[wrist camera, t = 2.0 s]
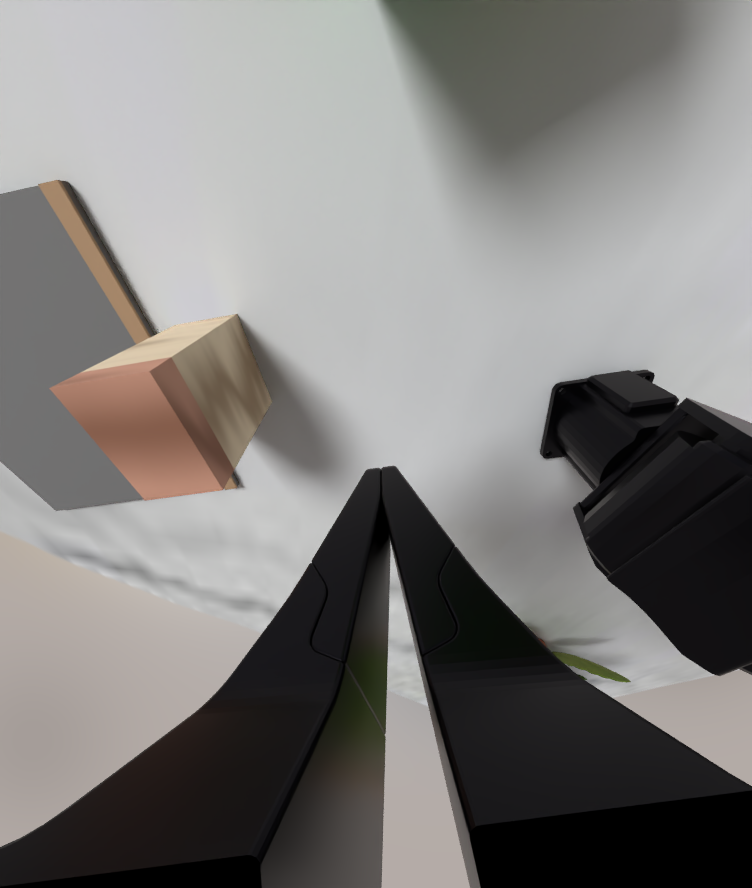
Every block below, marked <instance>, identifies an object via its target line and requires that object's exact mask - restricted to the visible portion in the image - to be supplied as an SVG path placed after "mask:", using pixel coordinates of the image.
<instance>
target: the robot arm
mask: <svg viewBox="0 0 752 888" xmlns="http://www.w3.org/2000/svg"><path fill="white" fill-rule="evenodd" d="M645 376H646V377H645ZM654 376H655V375H654V373H652V372H650V371H648V370H640V371H634V372H631V371H629V370H627V371H621V372H614V373H607V374H601V375H594V376H591V377H589V378H586V379H580V380H573V381H566V382H560V383H558V384H556V385H555V386H554V387H553V389H552V394H551V399H550V404H549V409H548V414H547V419H546V424H545V429H544V435H543V440H542V445H541V450H540V454H541V455H542V456H543V458H545V459H548V458H556V457H564V456H565V457H566V459H567V460H568V461H569V462H570V463H571V464H572V466H573V467H574V468H575V469H576V470H577V471H578V473H579V474H580V475H581V476H582V477H583V478H584V480H585V481H586V482H587V483H588V484H589V485H590V487H591V488H592V489H593V491H592V492H591V493H590V494H589V495H588V496H587V497H586V498H585V499H584V500H583V501H582V502H579V503H578V504H577V505H575V506H574V507H573V510H574V513H575V515H576V518H577V521H578V523H579V526H580V529H581V532H582V534H583V537H584V540H585V543H586V546H587V548H588V551H589V553H590V555H591V558H592V560H593V561H594V564H595V566H596V567H597V568H598V569H599V570H600V571H601V572H602V573H603V574H604V575H605V576H606V577H607V579H608V580H609V581H610V582H611V583H612V584H613V585H614V586H616V587H617V588H618V589H620V590H621V591H622V592H623V593H625V594H626V595H627V596H628V597H630V598H631V599H632V600H633V601H634V602H635V603H636V604H637V605H638V606H639V607H640V608H641V609H642V610H643V611H644V612H645V613H646V614H647V615H648V616H649V617H650V618H651V619H652V620H653V621H654V623H655V624H656V625H657V626H658V627H659V628H660V629H661V631H662V632H663V633H664V634H665V635H666V636H667V638H668V639H669V640H670V641H671V642H672V643H673V645H674V646H675V647H676V648H677V649H678V650H679V652H680V653H681V654H683V655H684V656H685V657H687V658H688V659H690V660H691V661H693V662H694V663H696V664H698V665H699V666H701V667H702V668H704V669H705V670H707V671H708V672H710V673H712V674H714V675H718V676H721V675H724V674H726V673H729V672H732V671H734V670H737V669H740V670H742V671H744V672H747V673H749V674H751V675H752V423H750V422H747V421H745V420H742V419H740V418H737V417H735V416H732V415H730V414H727V413H725V412H722V411H719V410H717V409H714V408H712V407H709V406H707V405H704V404H702V403H699V402H696V401H694V400H691V399H689V398H686V399H685V400H684V401H683V402H682V403H680V404H679V405H677V403H678V401H679V399H678V398H677V397H676V396H675V395H673V394H671V393H670V392H668V391H666V390H664V389H662V388H660V387H659V386H657V385H655V384H653V383H652V382H653V379H654ZM644 377H645V378H644ZM562 388H563V390H562V391H561V392H559V390H560V389H562ZM548 451H549V452H548ZM547 452H548V453H547ZM390 540H391V545H392V550H393V554H394V559H395V563H396V567H397V572H398V576H399V580H400V585H401V589H402V593H403V598H404V602H405V606H406V611H407V615H408V619H409V624H410V628H411V632H412V637H413V641H414V645H415V650H416V654H417V658H418V663H419V667H420V671H421V676H422V680H423V684H424V689H425V693H426V698H427V702H428V706H429V710H430V715H431V719H432V724H433V727H434V731H435V737H436V741H437V745H438V750H439V754H440V758H441V763H442V767H443V771H444V776H445V780H446V784H447V788H448V792H449V797H450V802H451V806H452V810H453V814H454V819H455V823H456V828H457V832H458V836H459V841H460V845H461V850H462V854H463V858H464V862H465V867H466V871H467V875H468V880H469V884H470V888H752V786H750V785H749V784H747V783H745V782H744V781H742V780H740V779H738V778H737V777H735V776H733V775H732V774H730V773H728V772H727V771H725V770H723V769H722V768H720V767H719V766H717V765H716V764H714V763H713V762H711V761H709V760H708V759H706V758H705V757H703V756H702V755H700V754H699V753H697V752H695V751H694V750H692V749H691V748H689V747H688V746H686V745H685V744H683V743H681V742H679V741H678V740H677V739H675V738H674V737H672V736H670V735H669V734H667V733H666V732H664V731H662V730H661V729H660V728H658V727H656V726H655V725H653V724H652V723H650V722H648V721H647V720H646V719H644V718H642V717H641V716H639V715H638V714H636V713H635V712H633V711H632V710H630V709H628V708H627V707H625V706H624V705H622V704H621V703H619V702H618V701H616V700H614V699H613V698H611V697H610V696H608V695H607V694H605V693H604V692H602V691H600V690H599V689H597V688H596V687H594V686H593V685H591V684H590V683H588V682H587V681H585V680H584V679H583V678H581V677H580V676H579V675H577V674H576V673H574V672H573V671H572V670H571V669H570V668H569V667H567V666H566V665H565V664H564V663H563V662H562V661H561V660H559V659H558V658H557V657H556V656H555V655H554V654H553V653H552V652H551V651H550V650H549V649H548V648H547V647H546V646H545V645H544V644H543V643H542V642H541V641H540V640H539V639H538V638H537V637H536V635H535V634H534V633H533V632H532V631H531V630H530V629H529V628H528V627H527V626H526V625H525V624H524V623H523V622H522V621H521V620H520V619H519V618H518V617H517V616H516V615H515V614H514V613H513V612H512V610H511V609H510V608H509V607H508V606H507V605H506V604H505V603H504V602H503V601H502V600H501V599H500V598H499V597H498V596H497V595H496V594H495V593H494V592H493V590H492V589H491V588H490V587H489V586H488V585H487V584H486V583H485V582H484V581H483V579H482V578H481V577H480V576H479V575H478V574H477V572H476V571H475V570H474V569H473V567H472V566H471V565H470V564H469V562H468V561H467V560H466V559H465V557H464V556H463V555H462V553H461V552H460V551H459V549H458V548H457V547H455V544H454V543H453V542H452V540H451V539H450V538H449V536H448V535H447V534H446V532H445V531H444V530H443V528H442V527H441V526H440V524H439V523H438V522H437V520H436V519H435V518H434V516H433V515H432V514H431V512H430V511H429V510H428V508H427V507H426V506H425V504H424V503H423V502H422V500H421V499H420V498H419V496H418V495H417V494H416V492H415V491H414V490H413V488H412V487H411V486H410V485H409V483H408V482H407V481H406V479H405V478H404V477H403V475H402V474H401V473H400V471H399V470H398V469H397V467H396V466H388V467H383V468H382V469H380V468H373V469H367V470H366V471H365V473H364V475H363V476H362V478H361V480H360V481H359V483H358V485H357V486H356V488H355V490H354V491H353V493H352V495H351V496H350V498H349V500H348V501H347V503H346V505H345V506H344V508H343V510H342V511H341V513H340V514H339V516H338V518H337V519H336V521H335V523H334V524H333V526H332V528H331V529H330V531H329V533H328V534H327V536H326V538H325V539H324V541H323V543H322V544H321V546H320V548H319V549H318V551H317V553H316V554H315V556H314V558H313V559H312V563H310V564H309V566H308V567H307V569H306V571H305V572H304V574H303V576H302V577H301V579H300V580H299V582H298V584H297V585H296V587H295V588H294V590H293V591H292V593H291V594H290V596H289V597H288V599H287V600H286V602H285V603H284V604H283V606H282V607H281V609H280V610H279V611H278V613H277V614H276V616H275V617H274V618H273V620H272V621H271V622H270V624H269V625H268V626H267V628H266V629H265V630H264V632H263V633H262V634H261V636H260V637H259V639H258V640H257V641H256V643H255V644H254V645H253V647H252V648H251V649H250V651H249V652H248V653H247V655H246V656H245V657H244V659H243V660H242V661H241V663H240V664H239V665H238V667H237V668H236V669H235V671H234V672H233V673H232V675H231V676H230V677H229V678H228V680H227V681H226V682H225V683H224V684H223V686H222V687H221V688H220V689H219V690H218V691H217V692H216V693H215V694H214V695H213V696H212V697H211V698H210V700H208V701H207V702H206V703H205V704H204V705H203V706H202V707H201V708H200V709H199V710H197V711H196V712H195V713H194V714H192V715H191V716H190V717H188V718H187V719H186V720H184V721H183V722H182V723H180V724H179V725H178V726H176V727H175V728H174V729H172V730H171V731H170V732H168V733H167V734H166V735H165V736H163V737H162V738H161V739H159V740H158V741H156V742H155V743H154V744H152V745H151V746H150V747H148V748H147V749H146V750H144V751H143V752H142V753H140V754H139V755H138V756H136V757H135V758H134V759H132V760H131V761H130V762H128V763H127V764H126V765H124V766H123V767H122V768H120V769H119V770H118V771H116V772H115V773H114V774H112V775H111V776H110V777H108V778H107V779H106V780H104V781H103V782H102V783H100V784H99V785H98V786H96V787H95V788H93V789H92V790H91V791H89V792H88V793H87V794H86V795H84V796H83V797H81V798H80V799H79V800H77V801H76V802H75V803H73V804H72V805H71V806H69V807H68V808H67V809H65V810H64V811H62V812H61V813H60V814H58V815H57V816H55V817H54V818H52V819H51V820H49V821H48V822H47V823H45V824H44V825H42V826H40V827H39V828H37V829H35V830H34V831H32V832H30V833H29V834H27V835H25V836H23V837H21V838H20V839H17V840H15V841H13V842H11V843H8V844H6V845H4V846H2V847H0V888H381V882H382V845H383V843H382V842H383V809H384V772H385V732H386V695H387V660H388V623H389V586H390Z"/></svg>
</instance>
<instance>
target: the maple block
mask: <svg viewBox="0 0 752 888" xmlns="http://www.w3.org/2000/svg"><path fill="white" fill-rule="evenodd" d="M49 389H50V390H51V391H52V392H53V393H54V394H55V396H56V397H57V398H58V399H59V400H60V401H61V403H62V404H63V405H64V406H65V407H66V409H67V410H68V411H69V412H70V413H71V414H72V416H73V417H74V418H75V419H76V420H77V421H78V423H79V424H80V425H81V426H82V427H83V428H84V430H85V431H86V432H87V433H88V434H89V435H90V437H91V438H92V439H93V440H94V441H95V443H96V444H97V445H98V446H99V447H100V448H101V450H102V451H103V452H104V453H105V454H106V455H107V457H108V458H109V459H110V460H111V461H112V462H113V464H114V465H115V466H116V467H117V468H118V469H119V471H120V472H121V473H122V474H123V475H124V477H125V478H126V479H127V480H128V481H129V482H130V484H131V485H132V486H133V487H134V488H135V489H136V491H137V492H138V493H139V494H140V495H141V496H142V498H143V499H144V500H152V499H159V498H167V497H174V496H182V495H189V494H197V493H204V492H212V491H219V490H223V489H224V487H225V486H226V484H227V482H228V480H229V478H230V477H231V475H232V473H233V471H234V469H235V468H236V466H237V464H238V462H239V460H240V459H241V457H242V455H243V453H244V451H245V450H246V448H247V446H248V444H249V442H250V441H251V439H252V437H253V435H254V433H255V432H256V430H257V428H258V426H259V424H260V423H261V421H262V419H263V417H264V415H265V414H266V412H267V410H268V408H269V406H270V405H271V403H272V400H271V398H270V395H269V393H268V390H267V388H266V385H265V383H264V380H263V378H262V375H261V373H260V370H259V368H258V365H257V363H256V360H255V358H254V355H253V353H252V350H251V348H250V345H249V343H248V340H247V338H246V335H245V333H244V330H243V328H242V325H241V323H240V320H239V318H238V315H237V314H234V315H229V316H223V317H217V318H212V319H206V320H201V321H195V322H189V323H184V324H178V325H174V326H172V327H170V328H168V329H166V330H164V331H162V332H160V333H158V334H156V335H154V336H152V337H150V338H148V339H146V340H144V341H142V342H140V343H138V344H136V345H134V346H132V347H130V348H128V349H126V350H124V351H122V352H120V353H118V354H116V355H114V356H112V357H110V358H108V359H106V360H104V361H102V362H100V363H98V364H96V365H94V366H92V367H90V368H88V369H86V370H85V371H83V372H81V373H79V374H77V375H75V376H73V377H71V378H69V379H67V380H65V381H63V382H61V383H59V384H57V385H55V386H53V387H51V388H49Z"/></svg>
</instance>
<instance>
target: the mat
mask: <svg viewBox="0 0 752 888" xmlns="http://www.w3.org/2000/svg"><path fill="white" fill-rule="evenodd" d="M152 336H154V333H153V331H152V329H151V327H150V326H149V324H148V322H147V320H146V319H145V317H144V315H143V313H142V312H141V310H140V308H139V306H138V305H137V303H136V301H135V299H134V298H133V296H132V294H131V292H130V291H129V289H128V287H127V285H126V284H125V282H124V280H123V278H122V277H121V275H120V273H119V271H118V270H117V268H116V266H115V264H114V262H113V261H112V259H111V257H110V255H109V254H108V252H107V250H106V248H105V247H104V245H103V243H102V241H101V240H100V238H99V236H98V234H97V233H96V231H95V229H94V227H93V226H92V224H91V222H90V220H89V219H88V217H87V215H86V213H85V212H84V210H83V208H82V206H81V205H80V203H79V201H78V199H77V197H76V196H75V194H74V192H73V190H72V189H71V187H70V185H69V183H68V182H66V181H60V180H55V181H51V182H46V183H42V184H38V186H34V187H30V188H26V189H21V190H17V191H12V192H8V193H3V194H0V462H2V463H3V464H4V465H5V466H6V467H7V468H8V469H9V470H11V471H12V472H13V473H14V474H15V475H16V476H17V477H18V478H20V479H21V480H22V481H23V482H24V483H25V484H26V485H27V486H29V487H30V488H31V489H32V490H33V491H34V492H35V493H36V494H38V495H39V496H40V497H41V498H42V499H43V500H44V501H45V502H47V503H48V504H49V505H50V506H51V507H52V508H53V509H54V510H56V511H59V510H66V509H74V508H81V507H89V506H96V505H103V504H111V503H118V502H126V501H133V500H141V499H143V498H142V496H141V495H140V494H139V493H138V492H137V491H136V489H135V488H134V487H133V486H132V485H131V484H130V482H129V481H128V480H127V479H126V478H125V477H124V475H123V474H122V473H121V472H120V471H119V469H118V468H117V467H116V466H115V465H114V464H113V462H112V461H111V460H110V459H109V458H108V457H107V455H106V454H105V453H104V452H103V451H102V450H101V448H100V447H99V446H98V445H97V444H96V443H95V441H94V440H93V439H92V438H91V437H90V435H89V434H88V433H87V432H86V431H85V430H84V428H83V427H82V426H81V425H80V424H79V423H78V421H77V420H76V419H75V418H74V417H73V416H72V414H71V413H70V412H69V411H68V410H67V409H66V407H65V406H64V405H63V404H62V403H61V401H60V400H59V399H58V398H57V397H56V396H55V394H54V393H53V392H52V391H51V390H50V389H49V388H51V387H53V386H55V385H57V384H59V383H61V382H63V381H65V380H67V379H69V378H71V377H73V376H75V375H77V374H79V373H81V372H83V371H85V370H86V369H88V368H90V367H92V366H94V365H96V364H98V363H100V362H102V361H104V360H106V359H108V358H110V357H112V356H114V355H116V354H118V353H120V352H122V351H124V350H126V349H128V348H130V347H132V346H134V345H136V344H138V343H140V342H142V341H144V340H146V339H148V338H150V337H152ZM238 485H239V482H238V480H237V479H236V477H235V475H234V473H232V475H231V477H230V478H229V480H228V482H227V484H226V486H225V487H224V488H225V490H227V489H234V488H237V487H238Z"/></svg>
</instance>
